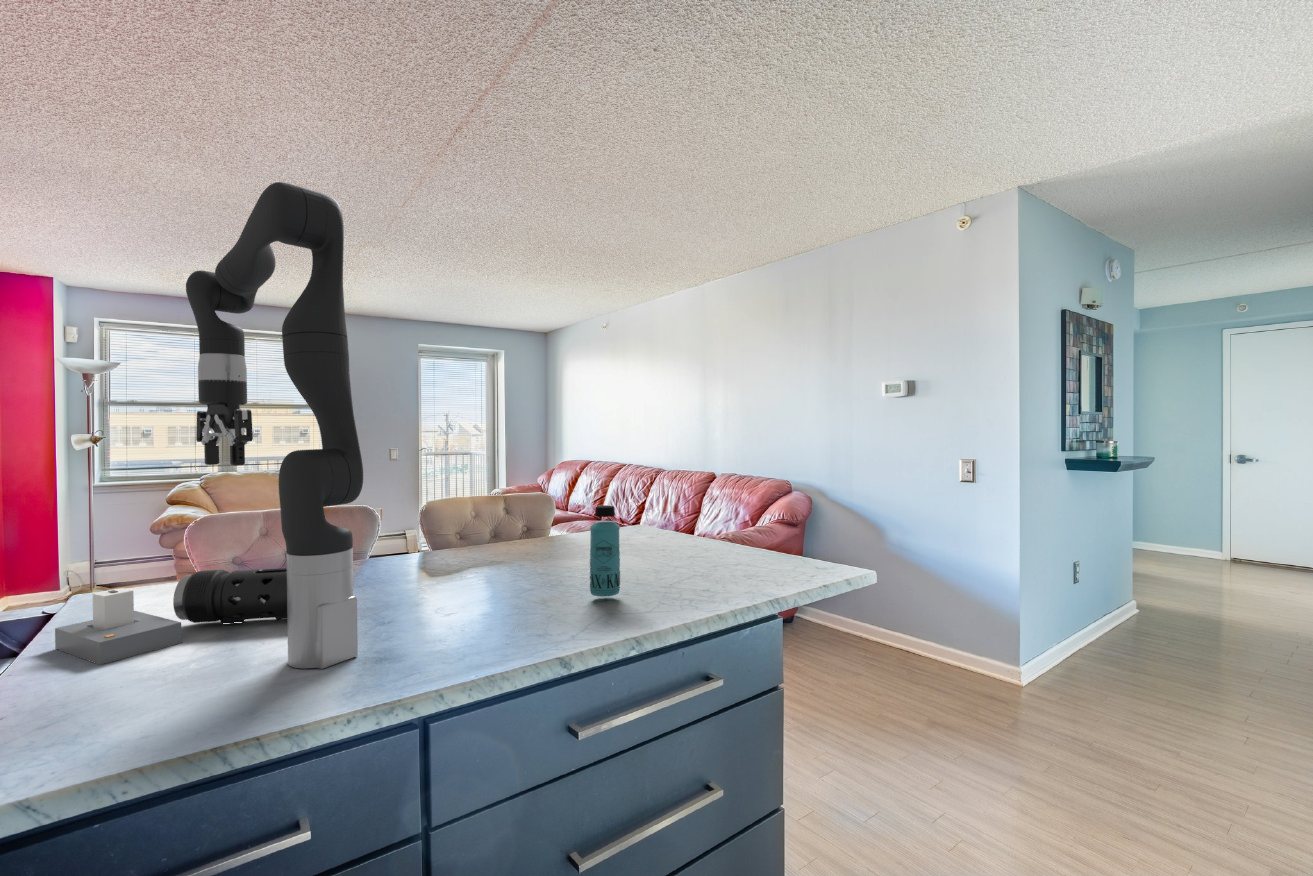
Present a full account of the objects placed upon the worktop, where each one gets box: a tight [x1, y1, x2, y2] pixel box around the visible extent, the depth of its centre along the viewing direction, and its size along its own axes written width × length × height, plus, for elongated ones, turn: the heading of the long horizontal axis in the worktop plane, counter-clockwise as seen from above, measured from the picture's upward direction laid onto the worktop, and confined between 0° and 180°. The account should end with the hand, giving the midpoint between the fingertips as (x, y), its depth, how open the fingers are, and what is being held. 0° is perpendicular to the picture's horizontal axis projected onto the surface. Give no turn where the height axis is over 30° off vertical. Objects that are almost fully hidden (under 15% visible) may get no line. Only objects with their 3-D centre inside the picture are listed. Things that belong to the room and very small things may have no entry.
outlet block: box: [54, 610, 183, 666], centre depth 103 cm, size 16×11×4 cm
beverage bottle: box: [588, 505, 621, 598], centre depth 128 cm, size 6×7×20 cm
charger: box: [92, 587, 135, 631], centre depth 104 cm, size 4×4×9 cm
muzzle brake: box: [172, 567, 287, 625], centre depth 116 cm, size 10×28×10 cm, turn 102°
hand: (224, 465), depth 115 cm, fingers open, 8 cm apart
